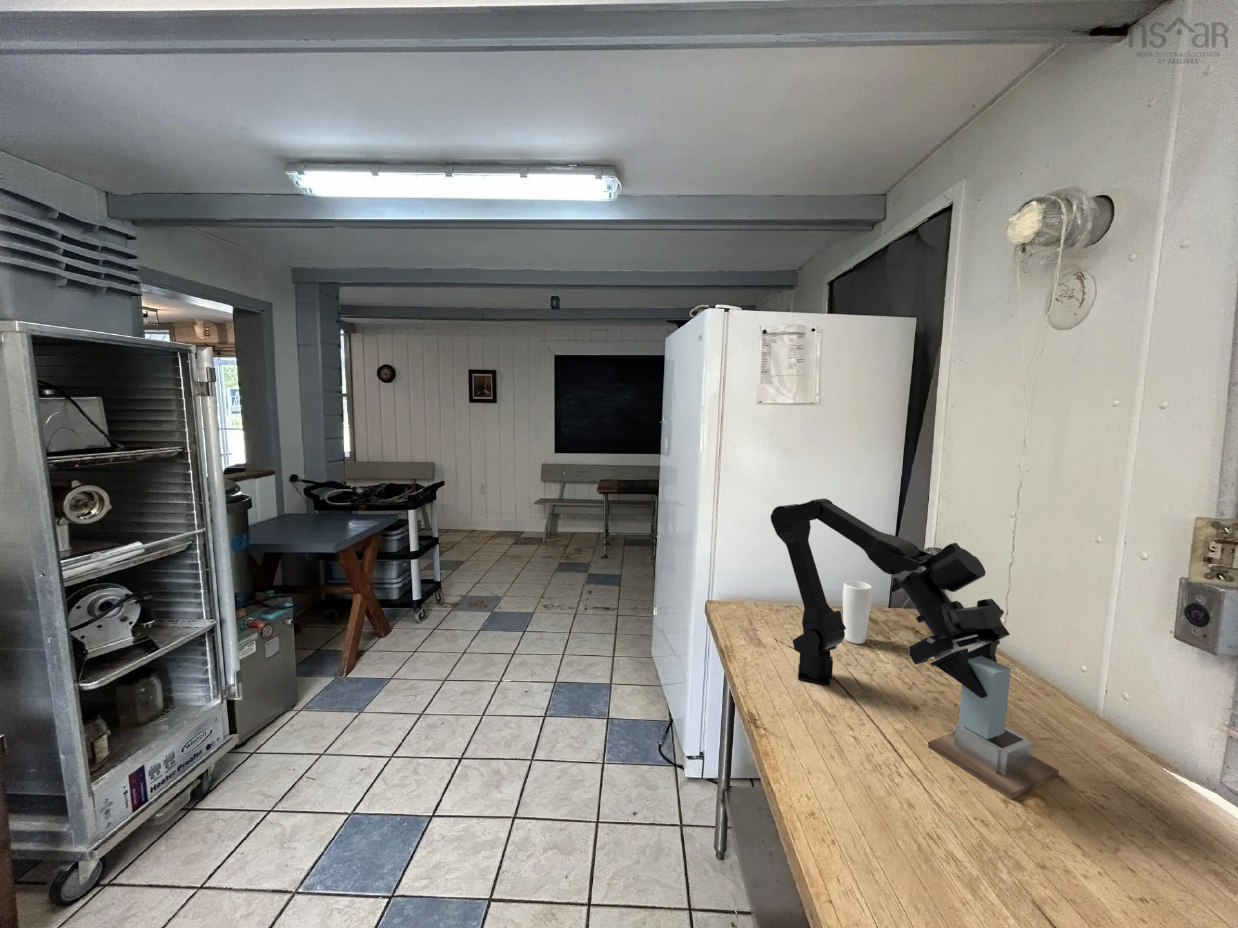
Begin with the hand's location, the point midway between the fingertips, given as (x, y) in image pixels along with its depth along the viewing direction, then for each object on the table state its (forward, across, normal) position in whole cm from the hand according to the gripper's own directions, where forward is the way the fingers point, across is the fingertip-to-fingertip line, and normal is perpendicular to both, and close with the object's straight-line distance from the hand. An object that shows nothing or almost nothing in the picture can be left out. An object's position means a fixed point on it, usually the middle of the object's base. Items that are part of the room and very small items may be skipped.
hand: (993, 694), depth 79 cm
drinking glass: (-21, +20, +41) cm, 50 cm away
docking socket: (+8, +4, +11) cm, 14 cm away
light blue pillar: (+4, 0, +6) cm, 7 cm away
